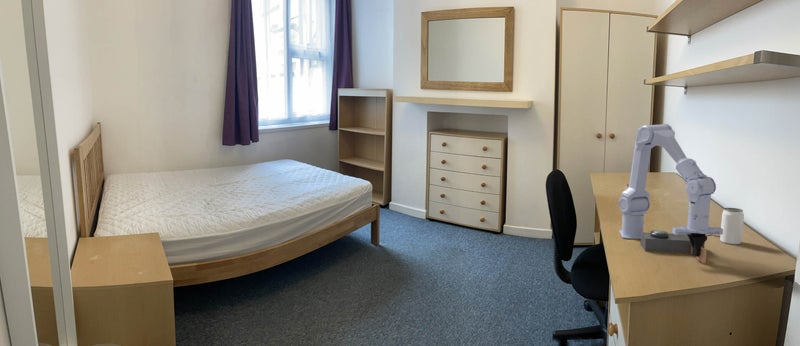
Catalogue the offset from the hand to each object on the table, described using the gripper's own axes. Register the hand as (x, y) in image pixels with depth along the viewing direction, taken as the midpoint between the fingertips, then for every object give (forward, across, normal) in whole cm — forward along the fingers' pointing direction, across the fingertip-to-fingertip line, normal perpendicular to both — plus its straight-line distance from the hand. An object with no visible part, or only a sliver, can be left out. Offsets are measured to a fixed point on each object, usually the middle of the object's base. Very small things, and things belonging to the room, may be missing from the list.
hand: (695, 255), depth 161 cm
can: (+2, +21, +19) cm, 29 cm away
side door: (+1, +2, +2) cm, 3 cm away
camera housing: (+2, -3, +12) cm, 12 cm away
